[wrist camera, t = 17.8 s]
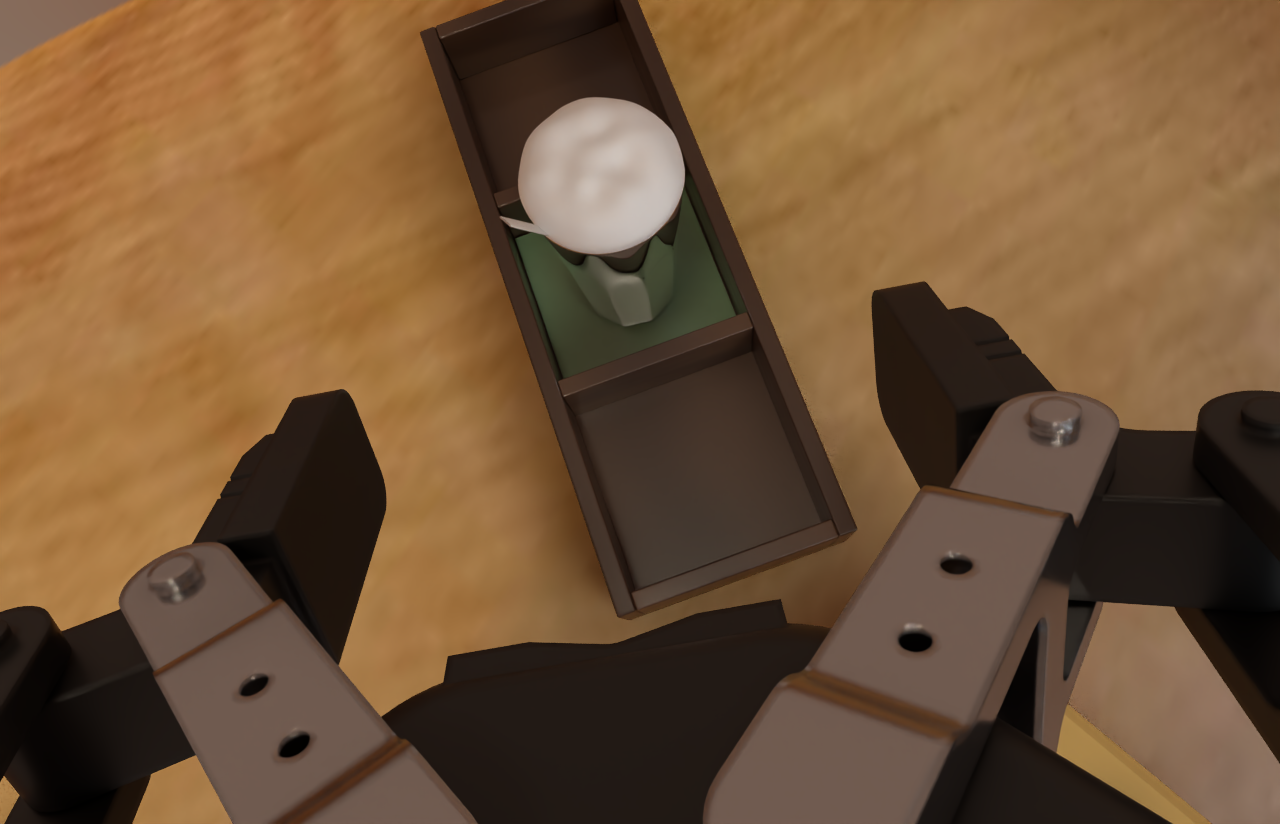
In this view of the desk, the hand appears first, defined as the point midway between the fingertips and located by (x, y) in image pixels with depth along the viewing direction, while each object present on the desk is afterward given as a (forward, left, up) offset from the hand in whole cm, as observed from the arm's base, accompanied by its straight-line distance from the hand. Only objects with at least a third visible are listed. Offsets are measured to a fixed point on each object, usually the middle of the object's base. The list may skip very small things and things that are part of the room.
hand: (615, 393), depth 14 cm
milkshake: (-1, -9, -18) cm, 20 cm away
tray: (-1, -9, -18) cm, 20 cm away
